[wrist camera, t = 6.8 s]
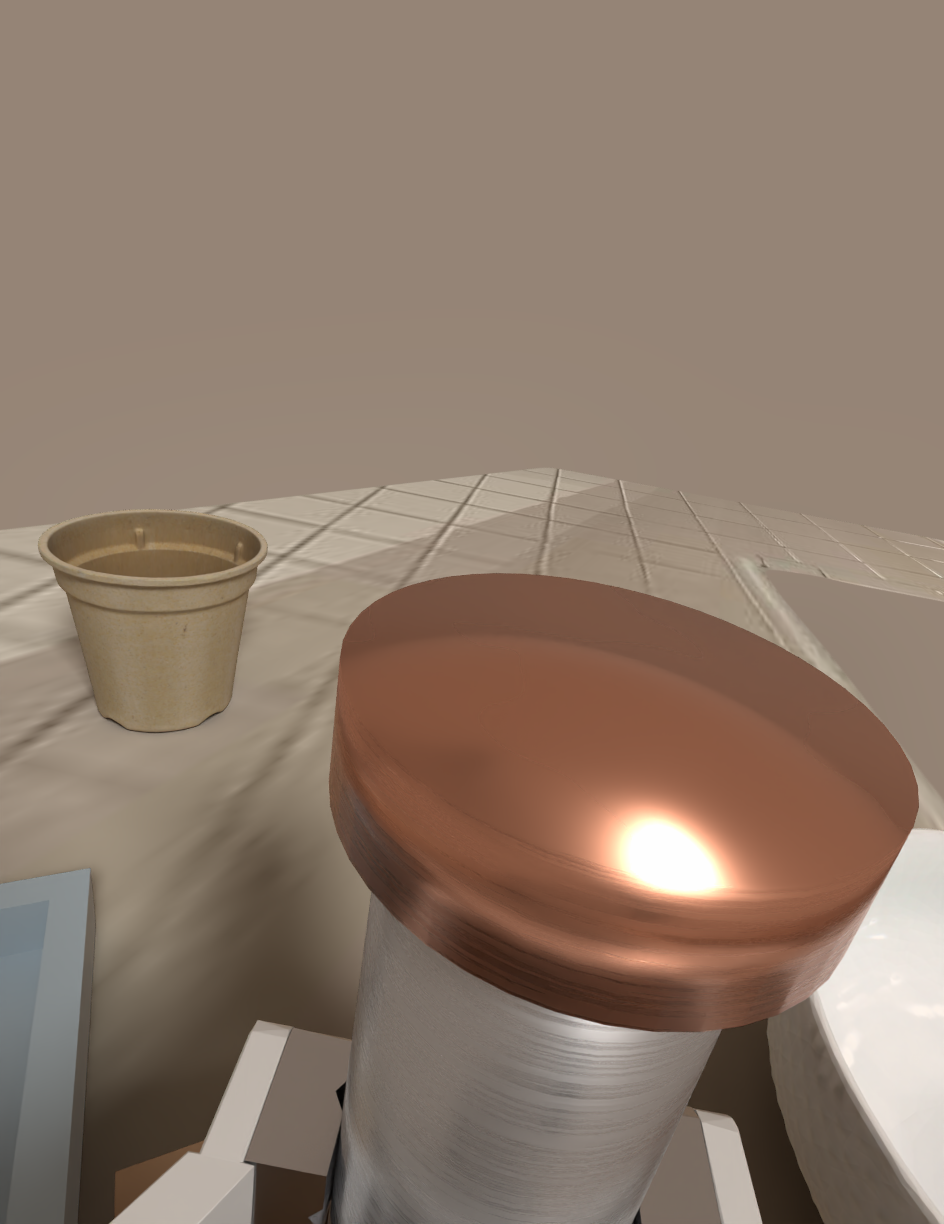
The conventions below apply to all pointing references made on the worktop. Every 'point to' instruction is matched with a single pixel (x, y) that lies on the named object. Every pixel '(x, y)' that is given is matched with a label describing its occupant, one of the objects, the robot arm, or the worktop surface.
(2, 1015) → the tray
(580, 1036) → the pin
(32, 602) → the worktop surface
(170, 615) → the flower pot
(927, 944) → the cereal bowl
